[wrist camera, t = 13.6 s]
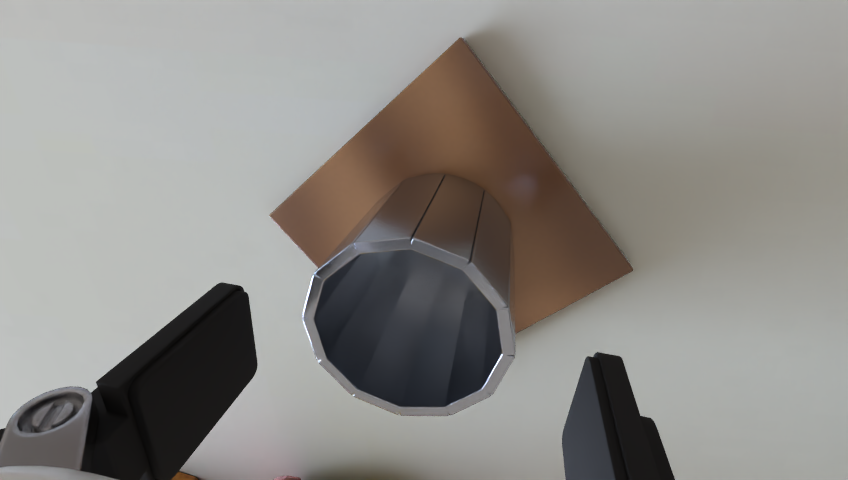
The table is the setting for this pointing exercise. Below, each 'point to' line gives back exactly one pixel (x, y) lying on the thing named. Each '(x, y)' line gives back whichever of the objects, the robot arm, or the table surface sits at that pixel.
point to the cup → (419, 299)
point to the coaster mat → (470, 159)
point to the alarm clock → (287, 478)
